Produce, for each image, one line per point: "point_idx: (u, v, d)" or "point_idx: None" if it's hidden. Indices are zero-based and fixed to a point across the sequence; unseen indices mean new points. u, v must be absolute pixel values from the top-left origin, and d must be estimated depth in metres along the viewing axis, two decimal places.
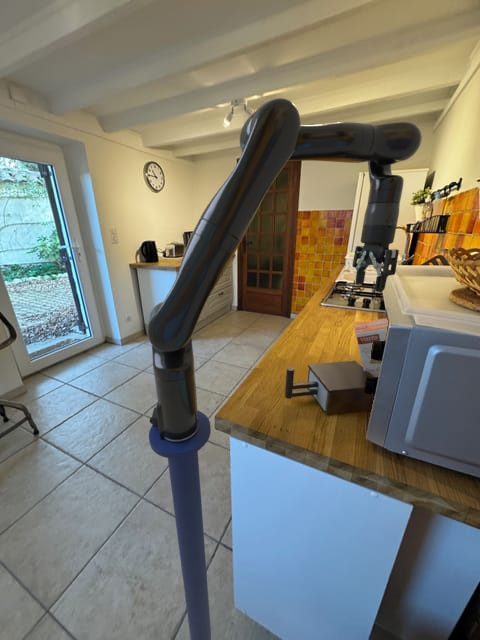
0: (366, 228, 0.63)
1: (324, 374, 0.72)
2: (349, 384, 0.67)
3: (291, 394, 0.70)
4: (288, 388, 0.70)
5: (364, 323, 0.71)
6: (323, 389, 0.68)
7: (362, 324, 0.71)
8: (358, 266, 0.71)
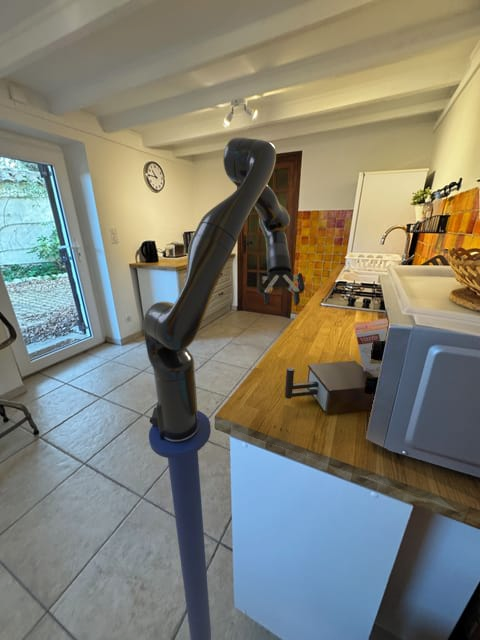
0: (281, 256, 0.79)
1: (324, 374, 0.72)
2: (349, 384, 0.67)
3: (291, 394, 0.70)
4: (288, 388, 0.70)
5: (364, 323, 0.71)
6: (323, 389, 0.68)
7: (362, 324, 0.71)
8: (268, 289, 0.78)
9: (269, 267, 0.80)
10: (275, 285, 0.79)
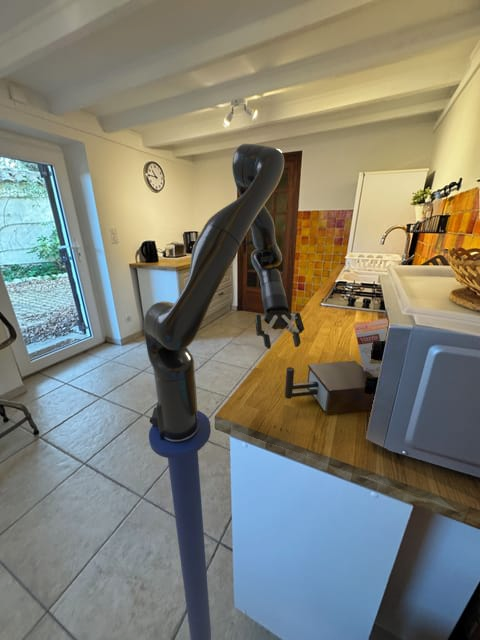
0: (279, 296, 0.77)
1: (324, 374, 0.72)
2: (349, 384, 0.67)
3: (291, 394, 0.70)
4: (288, 388, 0.70)
5: (364, 323, 0.71)
6: (323, 389, 0.68)
7: (362, 324, 0.71)
8: (267, 330, 0.74)
9: (267, 307, 0.77)
10: (274, 326, 0.75)
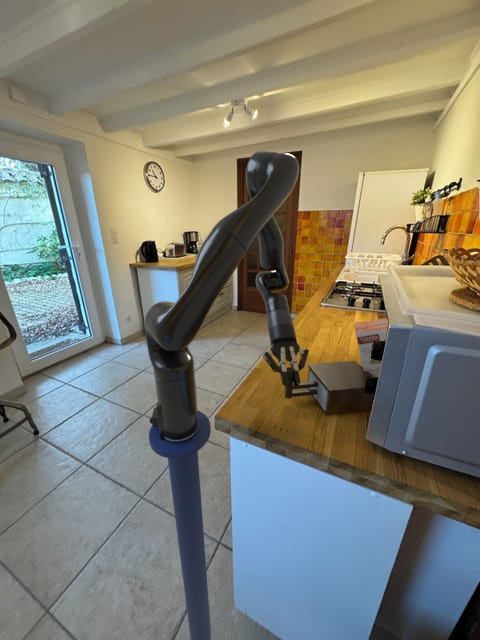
0: (286, 326, 0.72)
1: (324, 374, 0.72)
2: (349, 384, 0.67)
3: (291, 394, 0.70)
4: (288, 388, 0.70)
5: (364, 323, 0.71)
6: (323, 389, 0.68)
7: (362, 324, 0.71)
8: (283, 366, 0.69)
9: (273, 337, 0.72)
10: (286, 358, 0.71)
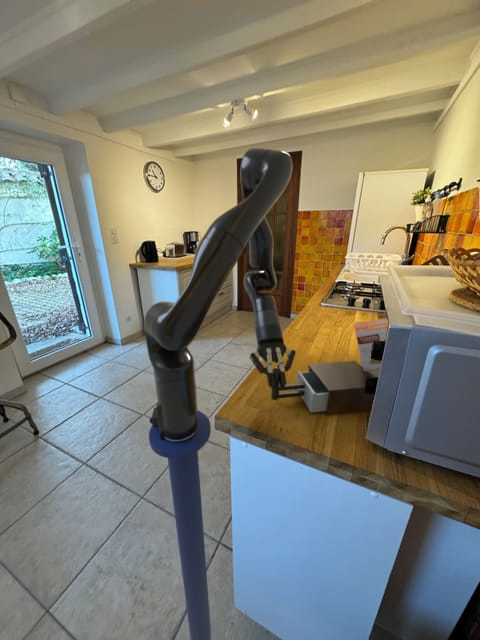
0: (272, 326, 0.71)
1: (324, 374, 0.72)
2: (349, 384, 0.67)
3: (277, 395, 0.70)
4: (274, 389, 0.69)
5: (364, 323, 0.71)
6: (309, 390, 0.68)
7: (362, 324, 0.71)
8: (269, 367, 0.68)
9: (260, 338, 0.71)
10: (272, 359, 0.70)
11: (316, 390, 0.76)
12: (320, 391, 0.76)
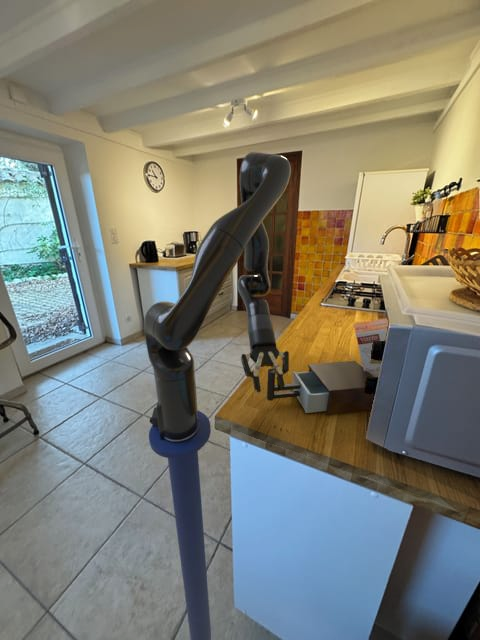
0: (265, 331, 0.71)
1: (324, 374, 0.72)
2: (349, 384, 0.67)
3: (272, 395, 0.70)
4: (269, 389, 0.69)
5: (364, 323, 0.71)
6: (304, 391, 0.68)
7: (362, 324, 0.71)
8: (256, 371, 0.68)
9: (252, 342, 0.71)
10: (262, 364, 0.70)
11: (312, 390, 0.76)
12: (315, 391, 0.76)
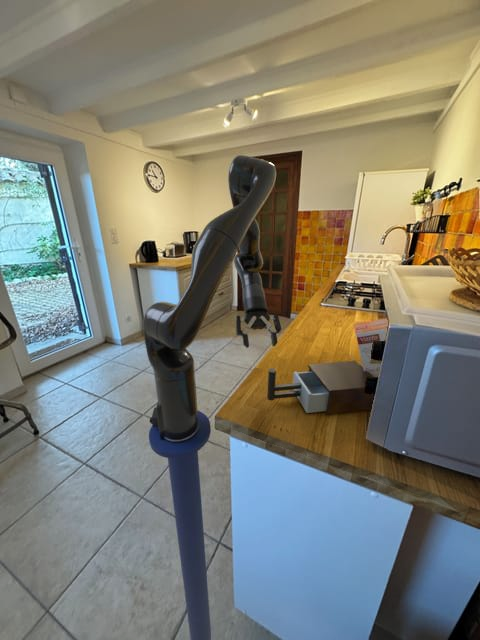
0: (258, 298, 0.81)
1: (324, 374, 0.72)
2: (349, 384, 0.67)
3: (273, 395, 0.70)
4: (270, 389, 0.69)
5: (364, 323, 0.71)
6: (305, 391, 0.68)
7: (362, 324, 0.71)
8: (246, 330, 0.79)
9: (246, 308, 0.82)
10: (253, 326, 0.80)
11: (312, 390, 0.76)
12: (316, 391, 0.76)
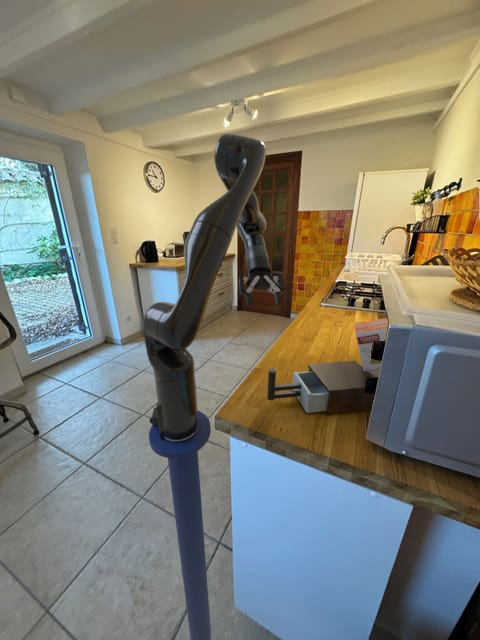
0: (261, 257, 0.80)
1: (324, 374, 0.72)
2: (349, 384, 0.67)
3: (273, 395, 0.70)
4: (270, 389, 0.69)
5: (364, 323, 0.71)
6: (305, 391, 0.68)
7: (362, 324, 0.71)
8: (249, 289, 0.78)
9: (250, 268, 0.80)
10: (256, 285, 0.79)
11: (312, 390, 0.76)
12: (316, 391, 0.76)
